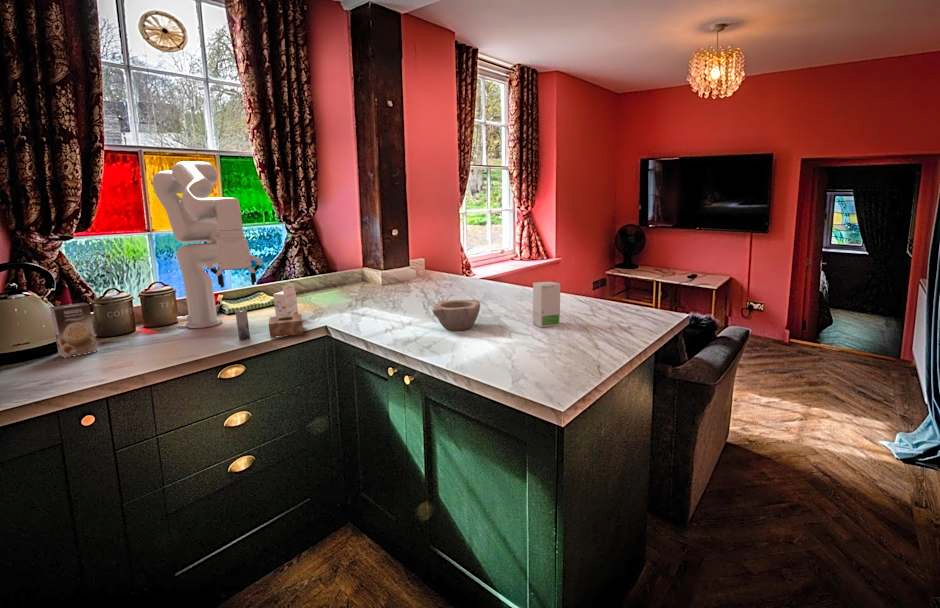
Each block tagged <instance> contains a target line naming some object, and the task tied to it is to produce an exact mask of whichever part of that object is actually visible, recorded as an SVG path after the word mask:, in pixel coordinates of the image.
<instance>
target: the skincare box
mask: <svg viewBox="0 0 940 608" xmlns="http://www.w3.org/2000/svg"><path fill="white" fill-rule="evenodd" d="M560 316H561V283H560V282H555V281H554V282H553V281H542V282H541V281H540V282H539V281H538V282H533V283H532V324H533V325H534V326H536V327H538V328H542V329H543V328H549V327H556V326H557V327H559V326H561V325H560V324H561V323H560V322H561V321H560V319H561V317H560Z"/></svg>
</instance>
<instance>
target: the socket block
mask: <svg viewBox="0 0 940 608" xmlns="http://www.w3.org/2000/svg"><path fill="white" fill-rule="evenodd" d="M268 330H269V338H270V337H273V338H277V337H276V336H282V337H286V336H285V335H291V336H298V335H304V328H303V317H302V314H301V313H298V314H297V315H286V316H276V315H275V316H270V317H269V320H268Z"/></svg>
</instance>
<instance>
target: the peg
mask: <svg viewBox="0 0 940 608" xmlns="http://www.w3.org/2000/svg"><path fill="white" fill-rule="evenodd" d="M235 318H236V319H235V320H236V327H237V335H238V340H239V341H247V339H248V340H250V339H251V334H250V327H249V317H248V311H247V309H239V310H236V311H235Z"/></svg>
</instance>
